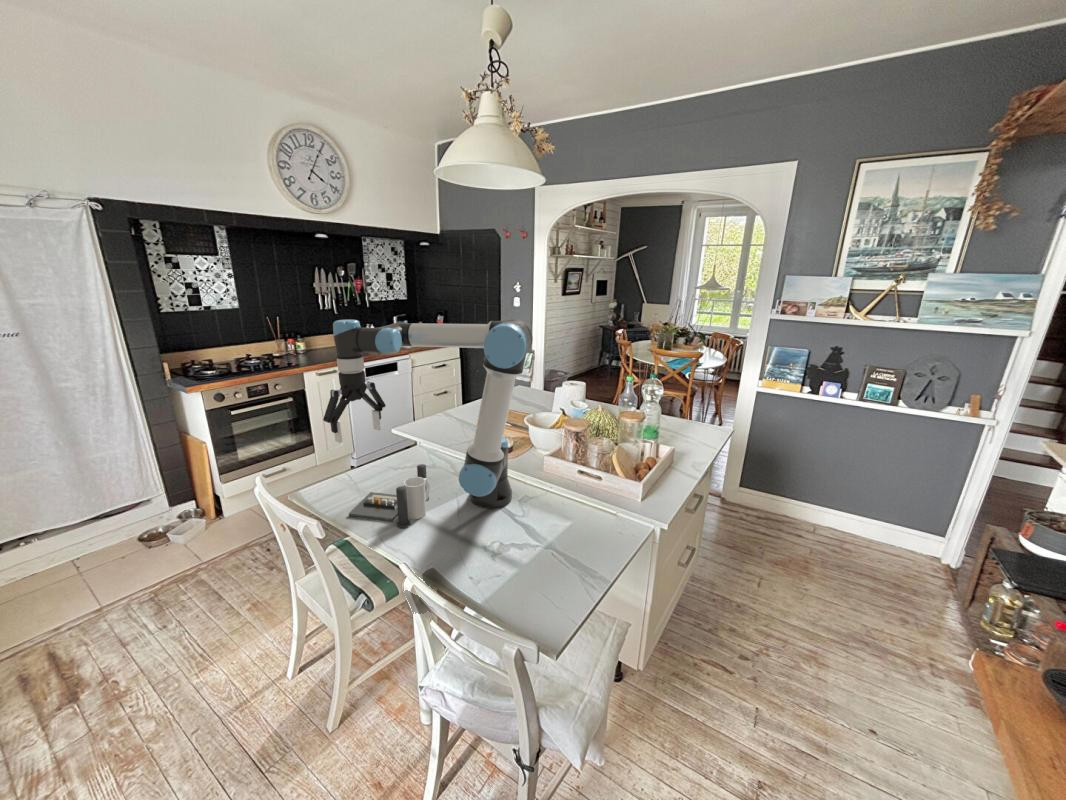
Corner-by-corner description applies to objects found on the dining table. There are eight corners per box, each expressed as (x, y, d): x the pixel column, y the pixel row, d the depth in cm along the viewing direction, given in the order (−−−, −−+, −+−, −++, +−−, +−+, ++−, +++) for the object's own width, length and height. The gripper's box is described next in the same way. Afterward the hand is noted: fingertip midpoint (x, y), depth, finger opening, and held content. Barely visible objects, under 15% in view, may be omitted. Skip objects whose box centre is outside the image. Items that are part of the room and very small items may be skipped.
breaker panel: (411, 499, 148) (410, 491, 147) (392, 521, 134) (392, 512, 133) (370, 495, 150) (370, 487, 149) (348, 516, 136) (348, 507, 135)
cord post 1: (412, 522, 135) (410, 486, 131) (406, 529, 131) (404, 492, 127) (400, 520, 135) (397, 484, 131) (394, 527, 131) (392, 491, 128)
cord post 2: (430, 496, 150) (429, 464, 146) (426, 502, 146) (424, 469, 142) (419, 495, 150) (418, 463, 147) (415, 501, 147) (413, 468, 143)
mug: (416, 522, 135) (414, 488, 131) (400, 516, 138) (398, 483, 134) (437, 508, 143) (436, 476, 140) (422, 502, 146) (420, 471, 143)
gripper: (379, 362, 142) (384, 422, 148) (304, 376, 122) (314, 444, 128) (393, 365, 137) (398, 426, 143) (318, 380, 118) (327, 450, 124)
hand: (358, 435), depth 136 cm, fingers open, 13 cm apart
